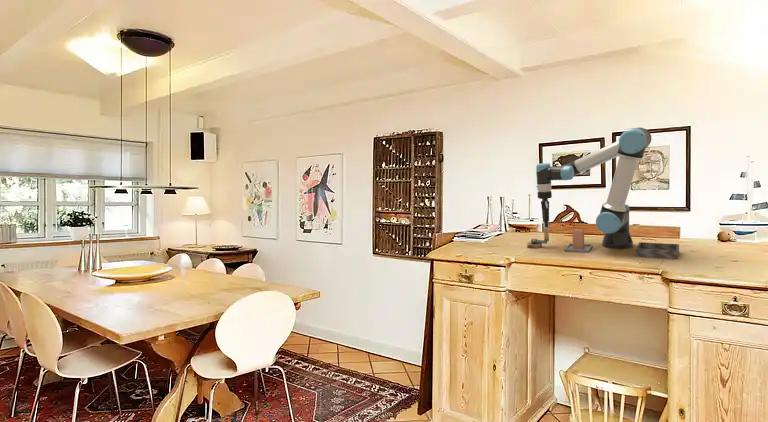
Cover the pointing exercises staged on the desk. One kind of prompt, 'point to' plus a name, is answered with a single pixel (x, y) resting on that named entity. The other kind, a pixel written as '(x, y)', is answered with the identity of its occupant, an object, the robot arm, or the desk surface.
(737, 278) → the desk surface
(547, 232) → the crank
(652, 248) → the bin
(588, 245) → the tray
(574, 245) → the post
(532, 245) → the crank base
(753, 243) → the desk surface
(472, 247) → the desk surface
